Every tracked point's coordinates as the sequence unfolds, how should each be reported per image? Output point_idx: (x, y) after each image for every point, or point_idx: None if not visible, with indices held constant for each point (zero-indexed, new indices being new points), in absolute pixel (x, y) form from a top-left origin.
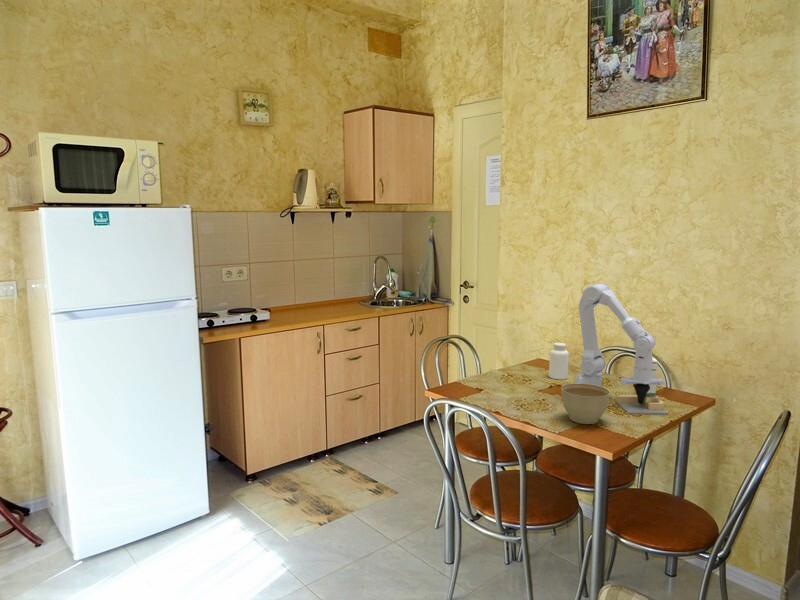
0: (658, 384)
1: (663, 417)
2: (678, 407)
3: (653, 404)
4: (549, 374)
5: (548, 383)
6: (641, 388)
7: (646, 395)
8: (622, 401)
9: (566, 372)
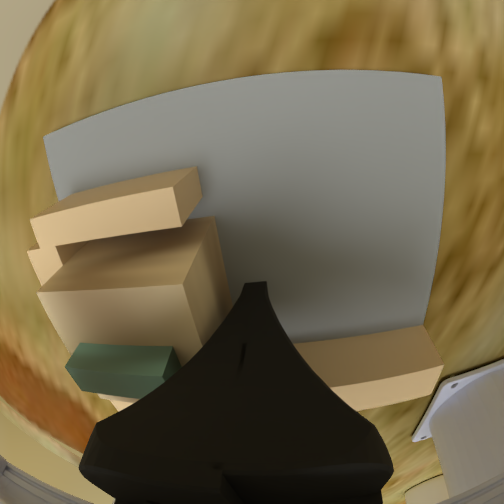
0: (11, 467)
1: (105, 34)
2: (15, 304)
3: (126, 193)
4: None
5: None
6: (302, 450)
7: (179, 368)
8: (397, 340)
9: (422, 500)
